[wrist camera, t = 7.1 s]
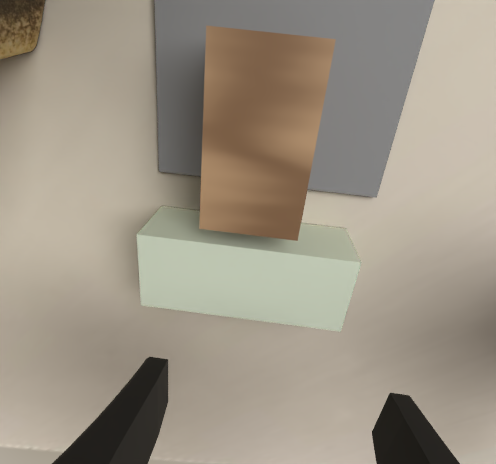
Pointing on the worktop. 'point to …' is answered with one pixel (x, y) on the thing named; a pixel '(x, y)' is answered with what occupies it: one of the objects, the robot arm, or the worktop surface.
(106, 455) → the robot arm
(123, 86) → the worktop surface
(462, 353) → the worktop surface
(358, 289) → the worktop surface
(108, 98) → the worktop surface
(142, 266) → the pale green rectangular block
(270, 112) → the walnut block
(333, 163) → the mat
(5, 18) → the rock
